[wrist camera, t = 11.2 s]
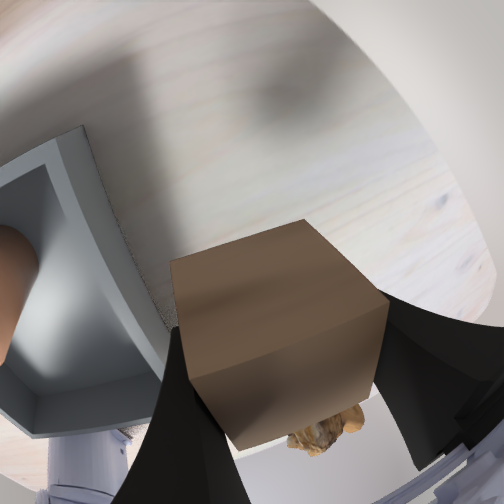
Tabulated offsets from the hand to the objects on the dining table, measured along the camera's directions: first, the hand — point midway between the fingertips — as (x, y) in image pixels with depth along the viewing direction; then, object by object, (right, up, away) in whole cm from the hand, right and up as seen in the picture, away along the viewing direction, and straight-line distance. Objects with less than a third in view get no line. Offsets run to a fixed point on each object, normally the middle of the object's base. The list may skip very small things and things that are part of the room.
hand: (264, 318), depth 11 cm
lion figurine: (+7, -14, +22) cm, 27 cm away
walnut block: (0, +1, +1) cm, 2 cm away
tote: (-16, -1, +7) cm, 17 cm away
